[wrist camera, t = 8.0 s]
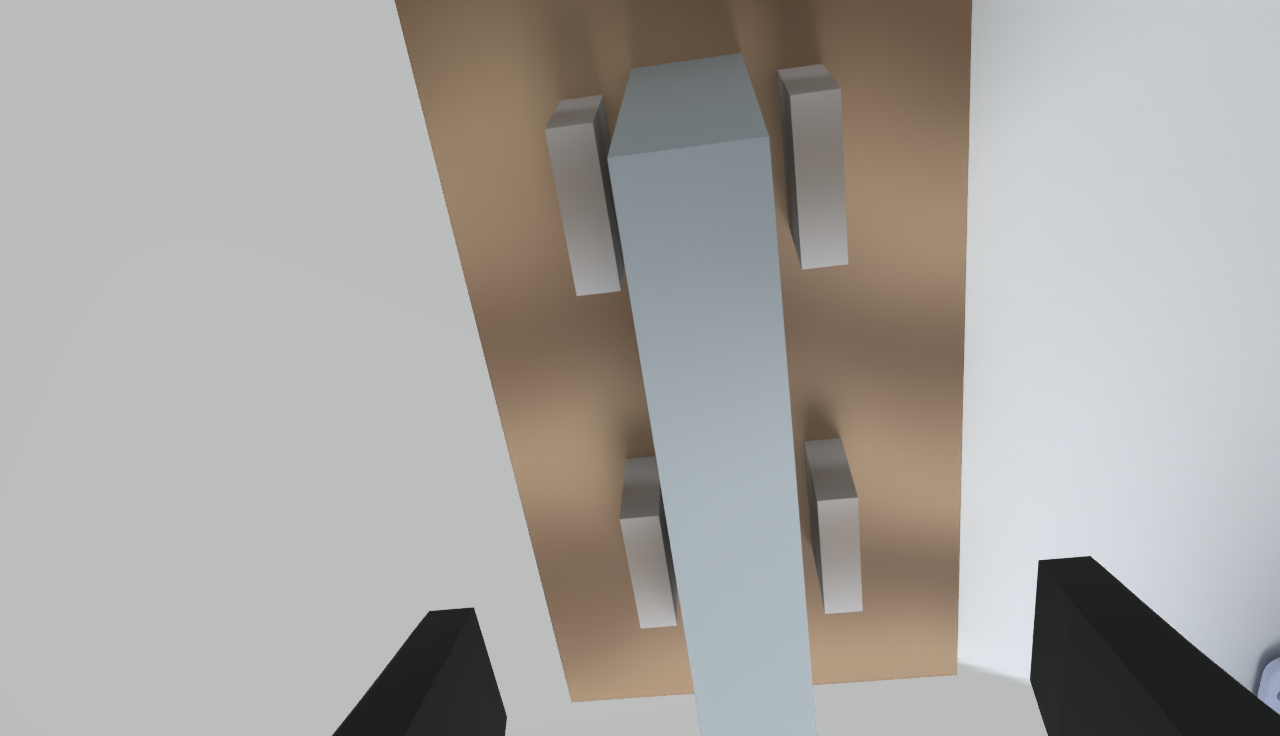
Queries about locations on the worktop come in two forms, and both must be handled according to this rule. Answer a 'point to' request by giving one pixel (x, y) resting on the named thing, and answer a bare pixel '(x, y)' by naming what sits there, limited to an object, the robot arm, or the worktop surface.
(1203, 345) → the worktop surface
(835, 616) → the hinge board
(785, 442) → the door panel
